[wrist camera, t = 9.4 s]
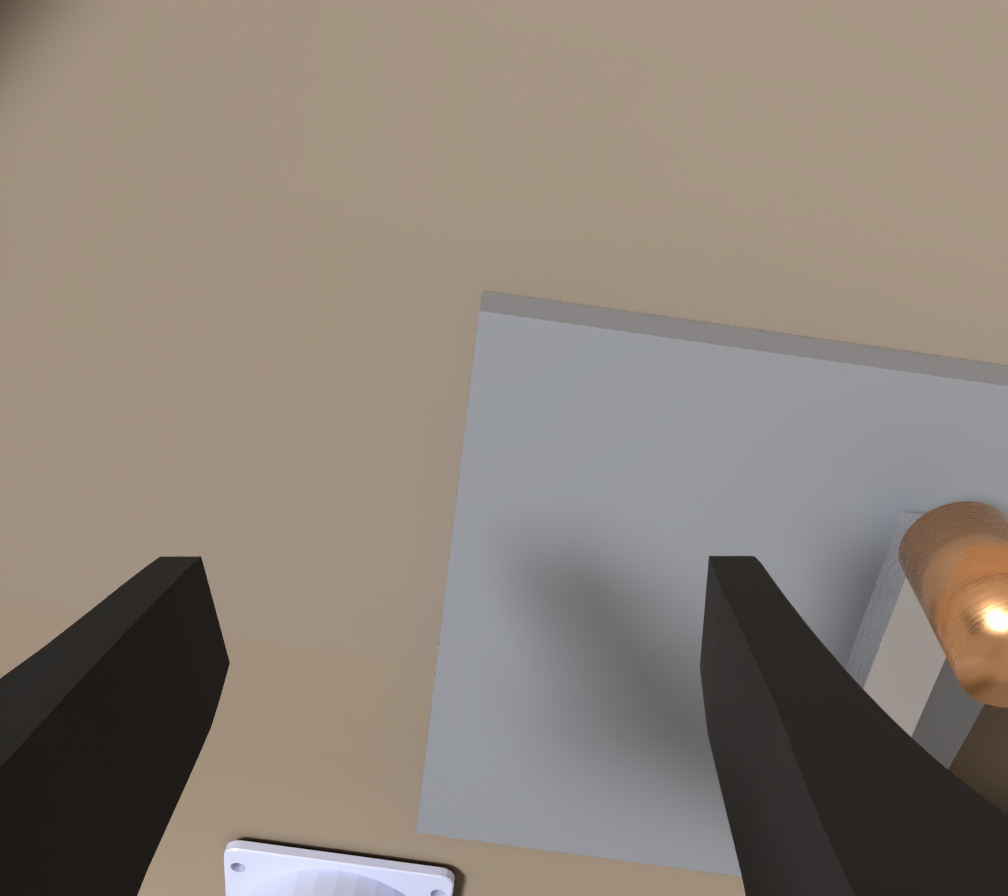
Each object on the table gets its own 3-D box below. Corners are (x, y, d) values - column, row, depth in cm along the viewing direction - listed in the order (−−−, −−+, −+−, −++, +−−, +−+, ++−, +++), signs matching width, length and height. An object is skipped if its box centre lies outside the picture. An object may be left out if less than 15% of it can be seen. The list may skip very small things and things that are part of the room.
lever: (840, 893, 28) (886, 1059, 24) (743, 883, 28) (772, 1047, 24) (1021, 477, 20) (1134, 619, 16) (886, 465, 20) (964, 602, 16)
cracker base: (1023, 882, 30) (1078, 999, 27) (421, 801, 30) (403, 909, 27) (1346, 414, 21) (1487, 506, 18) (483, 291, 21) (467, 361, 18)
